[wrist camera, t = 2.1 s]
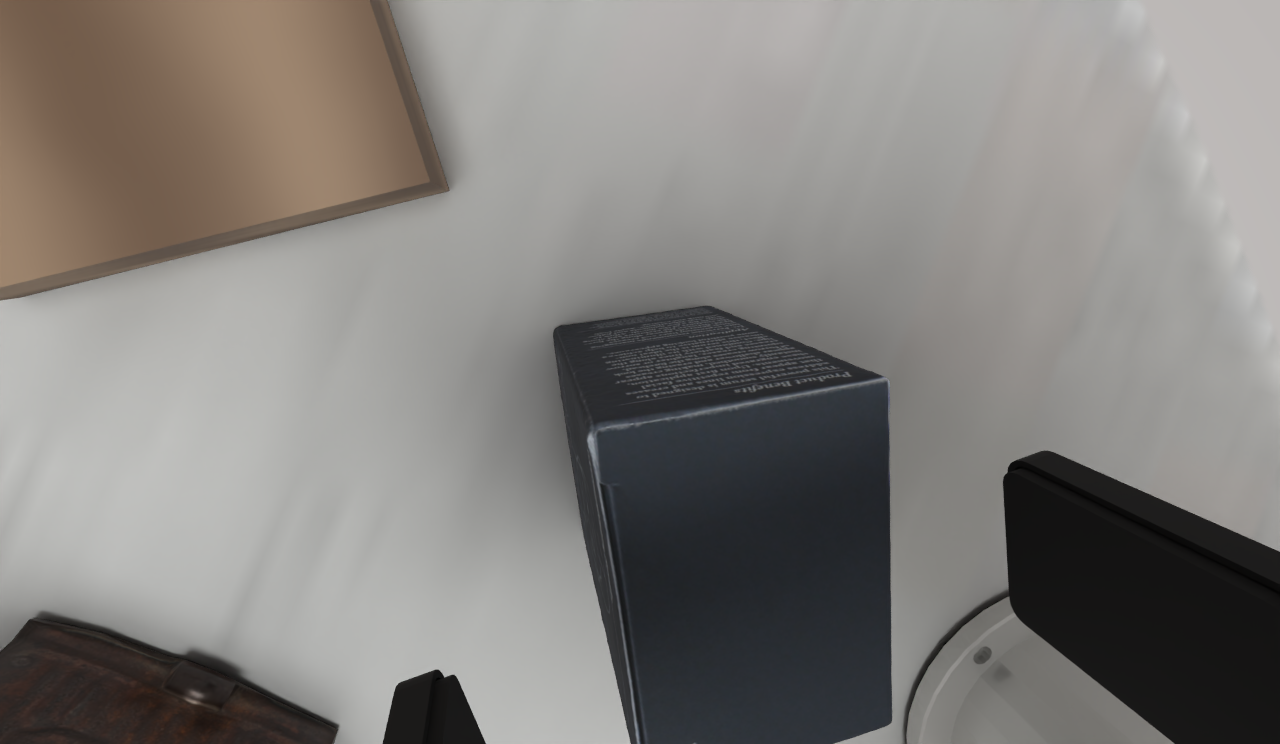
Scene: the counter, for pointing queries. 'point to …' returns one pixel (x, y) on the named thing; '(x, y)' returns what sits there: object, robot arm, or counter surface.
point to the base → (195, 128)
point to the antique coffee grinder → (131, 696)
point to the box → (733, 526)
